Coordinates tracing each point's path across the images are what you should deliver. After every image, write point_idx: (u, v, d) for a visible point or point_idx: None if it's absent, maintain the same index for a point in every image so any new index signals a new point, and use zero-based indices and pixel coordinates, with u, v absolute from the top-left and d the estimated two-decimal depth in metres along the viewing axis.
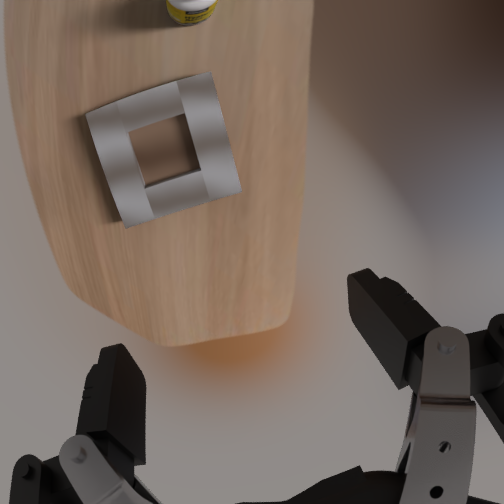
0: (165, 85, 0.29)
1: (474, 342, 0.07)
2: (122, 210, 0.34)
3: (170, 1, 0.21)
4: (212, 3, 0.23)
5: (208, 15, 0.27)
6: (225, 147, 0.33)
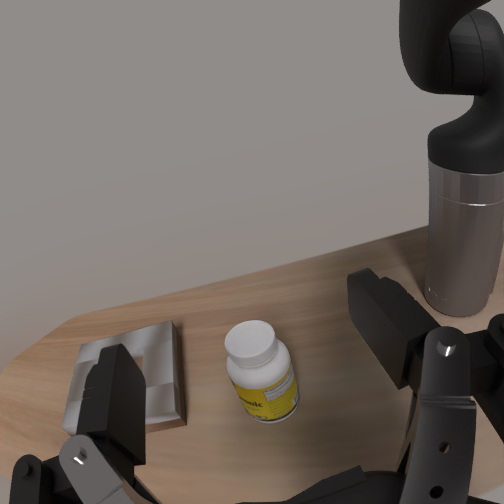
0: (171, 373, 0.31)
1: (474, 342, 0.07)
2: (93, 343, 0.38)
3: None
4: (234, 381, 0.24)
5: (247, 408, 0.26)
6: None
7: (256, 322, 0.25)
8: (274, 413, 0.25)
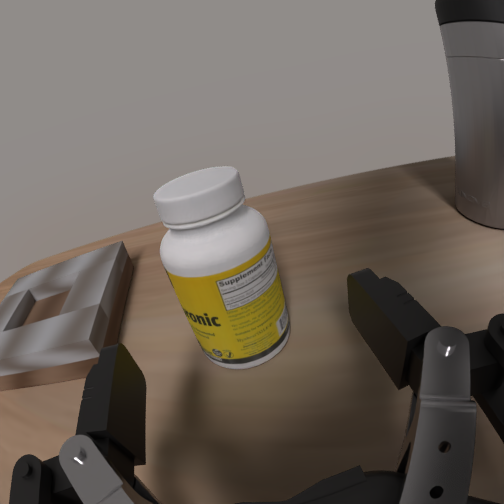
0: (101, 294, 0.21)
1: (474, 342, 0.07)
2: (29, 276, 0.28)
3: None
4: (167, 266, 0.14)
5: (198, 337, 0.16)
6: (1, 354, 0.16)
7: (211, 168, 0.15)
8: (243, 345, 0.15)
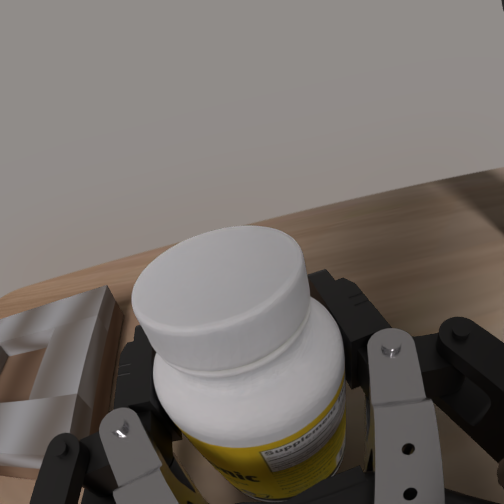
0: (79, 377, 0.14)
1: (425, 345, 0.07)
2: (0, 321, 0.21)
3: None
4: None
5: None
6: None
7: (241, 229, 0.08)
8: (288, 490, 0.08)
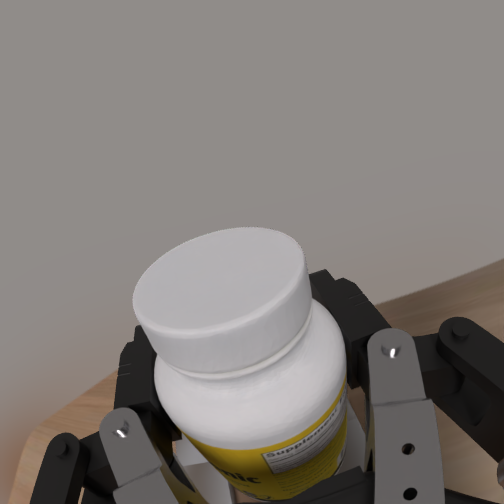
0: None
1: (425, 345, 0.07)
2: None
3: None
4: (170, 417, 0.07)
5: (222, 475, 0.09)
6: None
7: (242, 231, 0.08)
8: (289, 492, 0.08)
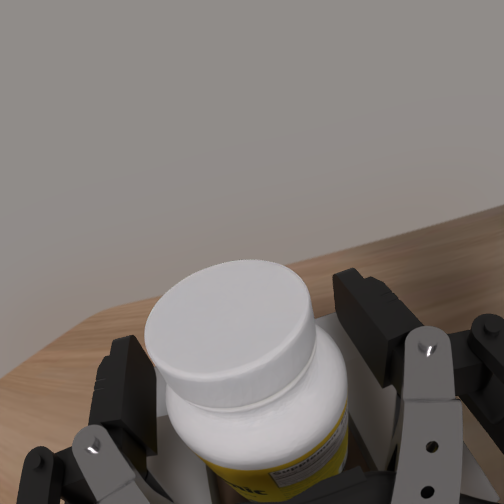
0: None
1: (457, 342, 0.07)
2: None
3: None
4: (183, 440, 0.07)
5: None
6: None
7: (248, 264, 0.08)
8: None
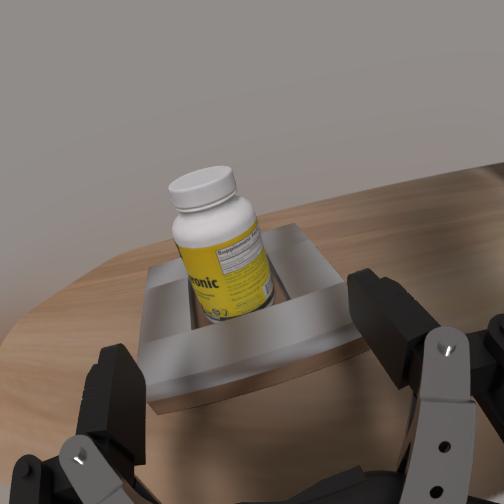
0: (334, 273, 0.21)
1: (474, 342, 0.07)
2: (170, 263, 0.28)
3: None
4: (178, 241, 0.19)
5: (201, 300, 0.21)
6: (224, 358, 0.17)
7: (211, 167, 0.20)
8: (236, 304, 0.20)
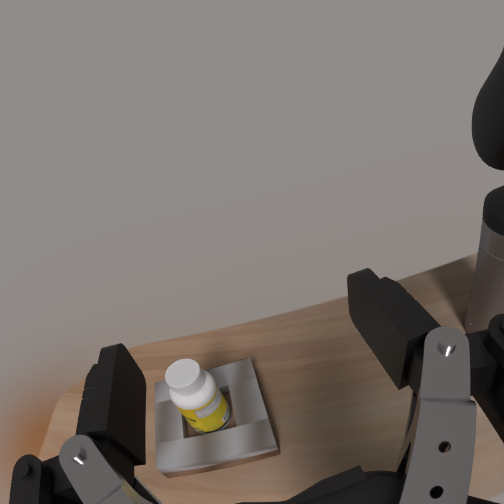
0: (264, 410, 0.34)
1: (474, 342, 0.07)
2: None
3: None
4: (173, 402, 0.31)
5: None
6: (200, 458, 0.29)
7: (189, 360, 0.32)
8: (207, 427, 0.32)
